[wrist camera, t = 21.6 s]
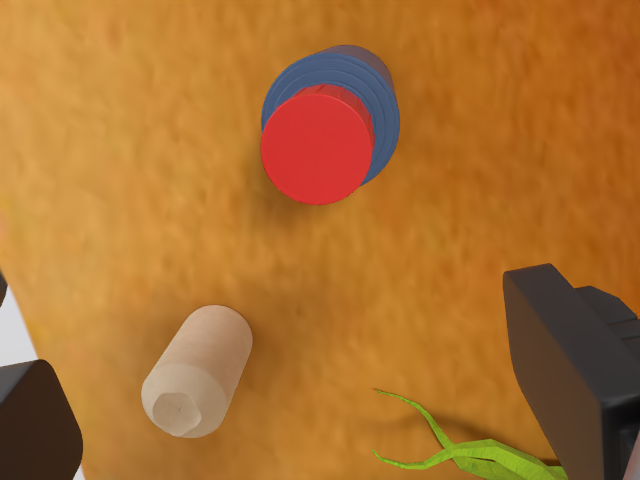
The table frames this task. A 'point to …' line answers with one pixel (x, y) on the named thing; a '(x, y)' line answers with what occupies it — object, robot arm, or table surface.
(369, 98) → the water bottle
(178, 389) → the candle
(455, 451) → the decorative plant
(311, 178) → the cap
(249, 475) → the table surface
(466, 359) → the table surface
